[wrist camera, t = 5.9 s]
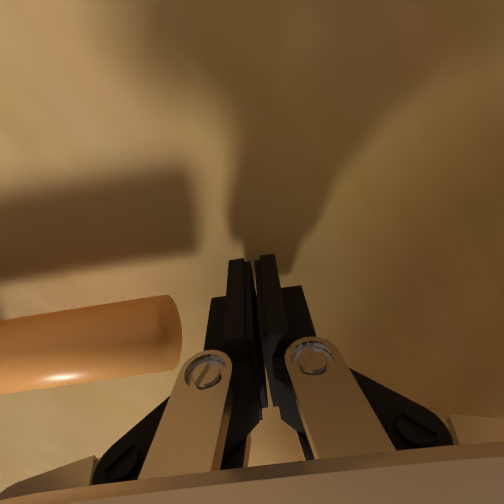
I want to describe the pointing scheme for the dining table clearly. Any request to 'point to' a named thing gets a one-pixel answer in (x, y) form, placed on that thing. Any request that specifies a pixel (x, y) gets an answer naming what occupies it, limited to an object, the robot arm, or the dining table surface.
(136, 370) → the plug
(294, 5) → the dining table surface
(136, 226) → the dining table surface
